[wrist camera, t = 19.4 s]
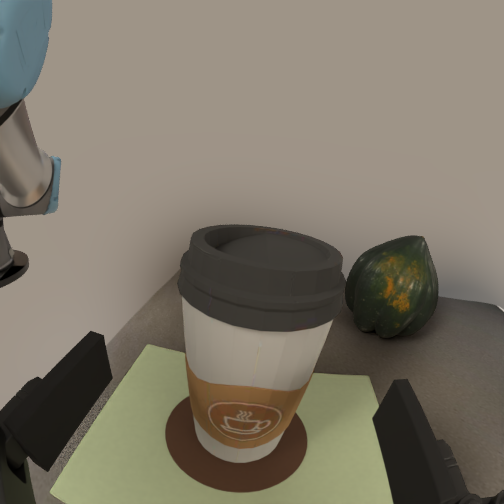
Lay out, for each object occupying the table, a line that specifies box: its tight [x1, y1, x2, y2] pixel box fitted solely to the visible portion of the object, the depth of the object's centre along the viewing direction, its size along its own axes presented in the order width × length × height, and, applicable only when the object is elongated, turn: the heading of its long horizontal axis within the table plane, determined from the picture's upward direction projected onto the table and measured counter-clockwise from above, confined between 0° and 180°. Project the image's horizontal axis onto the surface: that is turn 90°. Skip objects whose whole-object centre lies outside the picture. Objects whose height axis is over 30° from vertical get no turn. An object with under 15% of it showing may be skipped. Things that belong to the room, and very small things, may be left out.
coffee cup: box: [177, 225, 346, 463], centre depth 15 cm, size 8×8×15 cm
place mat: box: [50, 344, 393, 504], centre depth 17 cm, size 24×20×1 cm
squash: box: [345, 236, 438, 338], centre depth 36 cm, size 14×15×15 cm
